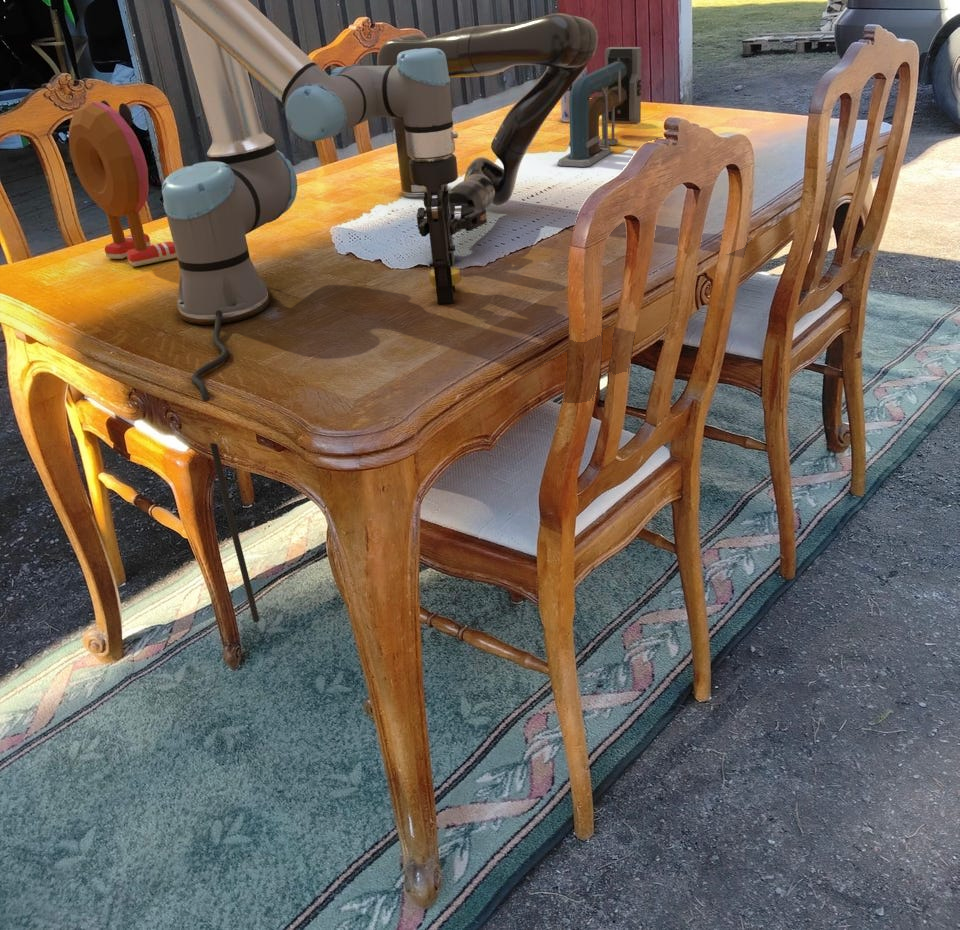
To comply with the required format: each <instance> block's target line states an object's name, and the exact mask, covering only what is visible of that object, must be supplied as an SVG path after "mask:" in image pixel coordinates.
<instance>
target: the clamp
mask: <svg viewBox="0 0 960 930" xmlns="http://www.w3.org/2000/svg"><path fill="white" fill-rule="evenodd" d="M596 93H600V94H597V95H595V96H593V97H591V96H592V95H594V94H596ZM641 106H642V47H641V46H609V47H606V48H605V66H603V67H601V68H599V69H597V70H594V71H592V72H590V73H587V75H585V76H583V77H581V78H579V79H578V81H577V82H576V83H575V84H574V85H573V86H572V89H571V91H570V96H569V114H570V122H569V142H568V147H569V151H570V153H568V154H566V155H564V156H562V157H561V158H559V159H558V161H557V163H556V165H558V166H561V167H562V166H563V167H581V168H584V167H591V166H592V165H593V164H595V163H597V162H598V161H600V160H601V159H603V158H605V157H606V156H607V155H609V154H611V153H612V152H613V151H612V149H611V146H616V145H617V144H619V140H618V138H615V125H638V124H640V123H641V122H642V120H641V119H642V117H641V115H642V114H641V113H642V107H641ZM600 116H601V136H600ZM610 124H611V136H610V138H609V125H610Z"/></svg>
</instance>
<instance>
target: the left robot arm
mask: <svg viewBox="0 0 960 930" xmlns="http://www.w3.org/2000/svg"><path fill="white" fill-rule="evenodd" d="M170 1H171V2H172V4H174V5H175V9H176V13H177V17H178V20H179V24H180V27H181V28H180V29H181V31H182V35H183V38H184V41H185V45H186V49H187V52H188V57H189V60H190V63H191V67H192V72H193V75H194V78H195V82H196V85H197V89H198V92H199V96H200V99H201V104H202V107H203V110H204V114H205V118H206V121H207V125H208V129H209V132H210V136H211V140H212V141H211V145H210V147H209V148H208V150H207V152H206V155H207V159H208V161H201V162H197V163H194V164H192V165H186V166H183V167H180V168H179V169H176V170H175V171H173V172H171V173H170V174H169V175H167V177H166V178H165V179H164V180H163V182H162V185H161V193H162V199H163V210H164V213H165V215H166V219H167V223H168V226H169V230H170V231H169V232H170V235H171V238H172V242H173V243H174V247H175V251H176V255H177V257H176V259H177V262H178V266H179V283H178V294H177V310H178V314H179V318H180V319H182V320H183V321H184V322H186V323H189V324H193V325H202V326H203V325H204V326H205V325H206V326H210V325H214V327H213V335H212V337H213V338H212V340H213V344H214V346H215V347H216V348H217V349H218V350H219V351H220V352H221V354H220V355H219V356H218V357H217V358H215V359H214V360H212V361H210V362H208V363H205V364H204V365H202V366H200V367H198V369H196V370H195V371H194V373H193V374H192V376H191V379H190V380H191V382H192V384H193V385H194V386H196V387H197V388H198V389H199V392H200V395H201V399H202V401H203V402H208V401H210V395H209V392H208V388H207V386H206V384H205V383H204V382H203V381H202V380H201V379H200V377H202V375H204V374H206V373H207V372H209V371H211V370H212V369H214V368H216V367H217V366H219V365H221V364H222V363H224V362H225V361H226V360H227V358H228V356H229V350H228V347H226V345H224V344H223V342H221V339H220V335H221V329H222V324H230V323H233V322H239V321H241V320H245V319H248V318H251V317H253V316H256V315H258V314H260V312H263V311H264V310H265V309H266V308H267V307H268V306H269V305H270V296H269V291H268V286H267V282H266V281H265V280H263V279H262V278H261V276H260V274H259V272H258V270H257V269H256V267H255V265H254V264H253V262H252V260H251V257H250V251H249V246H248V241H247V236H246V235H248V234H250V233H251V232H253V231H256V230H258V229H259V228H261V227H262V226H264V225H266V224H269V223H273V222H274V221H276V220H278V219H279V218H280V217H281V216H282V215H283V214H285V213H287V212H288V211H289V209H290V208H291V207H292V206H293V203H294V202H295V200H296V198H297V192H298V178H297V175H296V174H297V173H296V171H295V168H294V166H293V164H292V163H291V161H290V160H289V159H288V158H286V157H285V154H283V152H281V151H279V150H278V149H277V146H276V141H275V139H274V138H273V137H271V136H270V135H269V134H266V133H265V131H264V130H263V127H262V123H261V122H262V121H261V118H260V114H259V110H258V106H257V103H256V100H255V95H254V91H253V88H252V83H251V78H250V76H249V74H250V75H251V76H252V77H254V79H256V80H257V81H258V82H259V83H260V84H261V86H263V87H264V88H266V90H267V91H269V92H270V93H271V94H272V95H273V96H274V97H275V98H276V99H277V100H278V101H280V103H282V104H283V105H284V106H285V117H286V120H287V121H288V124H289V126H290V129H291V130H292V131H293V132H294V134H295V135H297V136H298V137H299V138H300V139H303V140H305V141H307V142H308V141H309V142H319V141H322V140H326V139H331V138H334V137H336V136H338V135H339V134H340V133H342V132H344V131H346V130H348V129H349V128H353V127H355V126H358V125H360V124H362V123H364V122H366V121H369V120H371V119H375V118H376V119H377V118H393V117H403V119H404V124H405V137H406V145H407V154H408V156H409V157H411V159H410V161H409V168H410V177H411V182H412V183H413V184H415V185H417V186H425V187H427V192H424V196H423V197H422V198H423V206H424V209H425V210H426V216H427V223H428V224H429V232H430V236H429V243H430V242H431V246H430V252H431V251H432V255H431V263H429V265H428V266H429V268H433V269H434V274H435V283H436V287H435V290H436V299H437V305H444V304H454V303H455V296H454V292H456V285H454V286H453V285H452V275H451V266H452V267H454V263H453V261H452V253H448V251H454V252H456V245H454V244H453V246H451V245H450V244H451V239H450V229H449V218H448V216H449V191H450V190H449V189H448V190H447V189H446V186H445V185H444V184H448V185H449V184H452V183H454V182H455V181H456V180H458V177H459V173H458V172H459V171H458V161H457V156H456V155H455V154H454V153H455V152H456V143H455V139H458V138H459V134H458V132H457V131H454V120H453V112H452V98H451V97H452V96H451V77H449V74H448V67H447V61H446V56H445V53H444V52H443V51H442V50H440V49H437V48H422V49H412V50H406V51H403V52H400V53H399V54H398V56H397V64H396V65H391V66H378V65H358V64H351V65H348V66H338V67H336V68H334V69H333V70H331V71H330V75H329V73H327V72H326V71H325V70H324V69H323V68H322V67H321V66H319V65H318V64H317V63H316V62H315V61H314V60H312V59H311V58H310V57H309V56H308V55H307V54H306V53H305V52H304V51H303V50H302V49H300V47H299V46H297V44H295V43H294V41H292V40H291V39H290V38H289V37H288V36H287V35H286V34H284V32H282V31H281V30H280V29H279V27H277V26H276V25H275V24H274V23H273V22H272V21H271V20H270V19H268V17H267V16H265V15H264V14H263V13H262V12H261V11H260V10H259V9H258V8H257V7H256V6H255V5H254V4H253V3H252V2H251V1H249V0H170ZM432 260H433V261H432ZM209 444H210V450H211V455H212V459H213V464H214V468H215V472H216V477H217V481H218V486H219V489H220V495H221V498H222V503H223V506H224V511H225V515H226V518H227V522H228V526H229V530H230V534H231V538H232V542H233V545H234V550H235V554H236V558H237V561H238V565H239V569H240V573H241V578H242V581H243V585H244V589H245V594H246V597H247V601H248V605H249V610H250V614H251V618H252V622H253V623H258V622H260V617H259V616H260V615H259V611H258V608H257V604H256V599H255V596H254V592H253V587H252V583H251V580H250V575H249V572H248V571H249V570H248V567H247V563H246V559H245V555H244V552H243V548H242V543H241V538H240V536H239V532H238V527H237V524H236V520H235V515H234V512H233V511H234V510H233V507H232V502H231V499H230V493H229V490H228V486H227V482H226V481H227V480H226V477H225V473H224V468H223V463H222V460H221V455H220V451H219V446H218V443H215V442H210V443H209Z"/></svg>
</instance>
